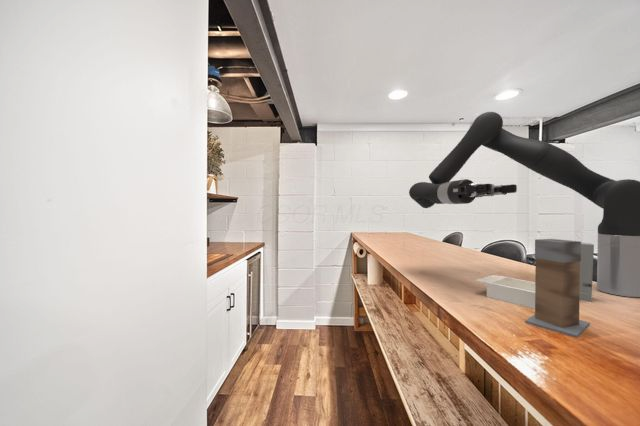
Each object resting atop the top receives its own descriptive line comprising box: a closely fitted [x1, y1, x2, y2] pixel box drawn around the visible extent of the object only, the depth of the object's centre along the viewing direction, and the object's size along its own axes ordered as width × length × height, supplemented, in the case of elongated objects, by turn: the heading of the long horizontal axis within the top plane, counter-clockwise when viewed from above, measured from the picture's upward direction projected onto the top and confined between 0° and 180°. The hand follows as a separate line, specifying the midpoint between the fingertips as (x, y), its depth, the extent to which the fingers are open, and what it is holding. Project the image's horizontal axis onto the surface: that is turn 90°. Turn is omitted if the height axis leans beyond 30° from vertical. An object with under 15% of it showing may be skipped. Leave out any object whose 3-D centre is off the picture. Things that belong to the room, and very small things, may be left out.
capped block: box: [534, 238, 582, 328], centre depth 55 cm, size 5×5×17 cm
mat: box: [524, 314, 590, 339], centre depth 55 cm, size 10×8×1 cm
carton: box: [474, 274, 535, 310], centre depth 70 cm, size 11×17×4 cm, turn 35°
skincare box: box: [579, 241, 595, 303], centre depth 73 cm, size 8×7×16 cm
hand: (503, 188), depth 69 cm, fingers open, 8 cm apart
